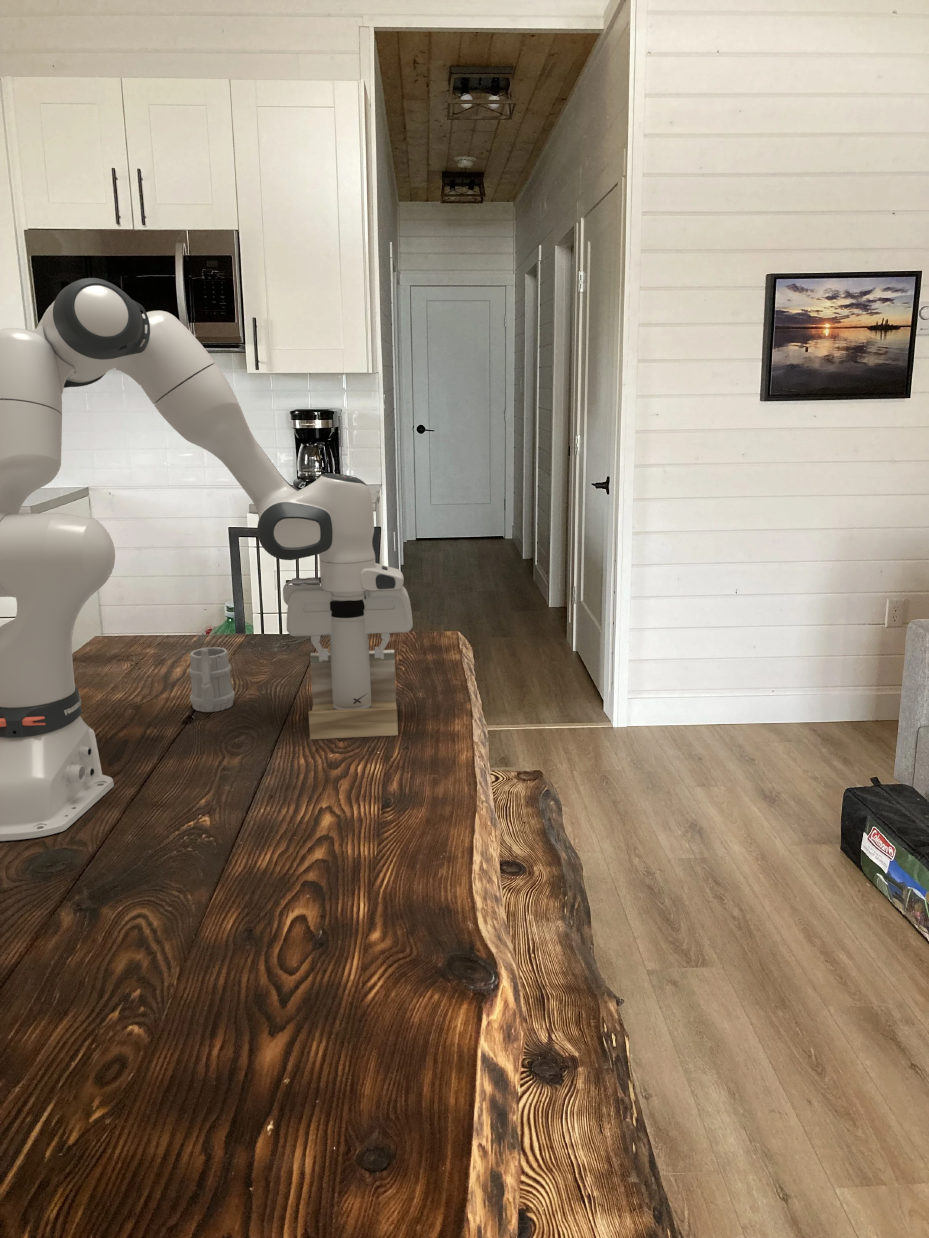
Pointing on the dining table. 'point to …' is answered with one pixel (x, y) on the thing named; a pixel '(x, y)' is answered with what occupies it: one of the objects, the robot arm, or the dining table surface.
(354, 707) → the travel mug
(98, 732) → the dining table surface
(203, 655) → the mug
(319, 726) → the wooden l bracket
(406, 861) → the dining table surface
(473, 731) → the dining table surface
